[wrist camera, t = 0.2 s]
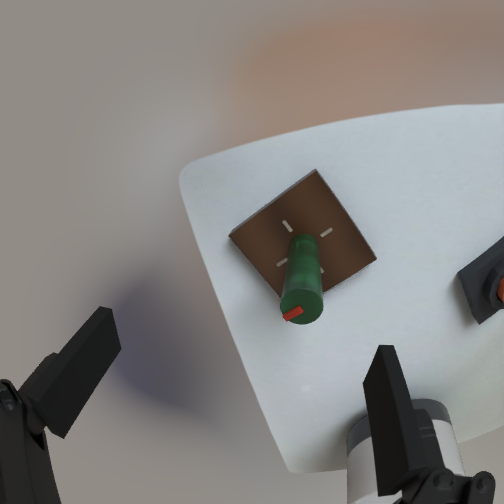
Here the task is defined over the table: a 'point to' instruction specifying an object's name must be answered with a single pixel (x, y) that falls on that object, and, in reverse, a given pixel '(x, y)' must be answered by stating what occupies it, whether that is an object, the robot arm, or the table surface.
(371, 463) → the planter
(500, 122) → the table surface
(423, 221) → the table surface
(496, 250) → the button box
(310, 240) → the dial knob
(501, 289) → the button
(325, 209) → the dial base
